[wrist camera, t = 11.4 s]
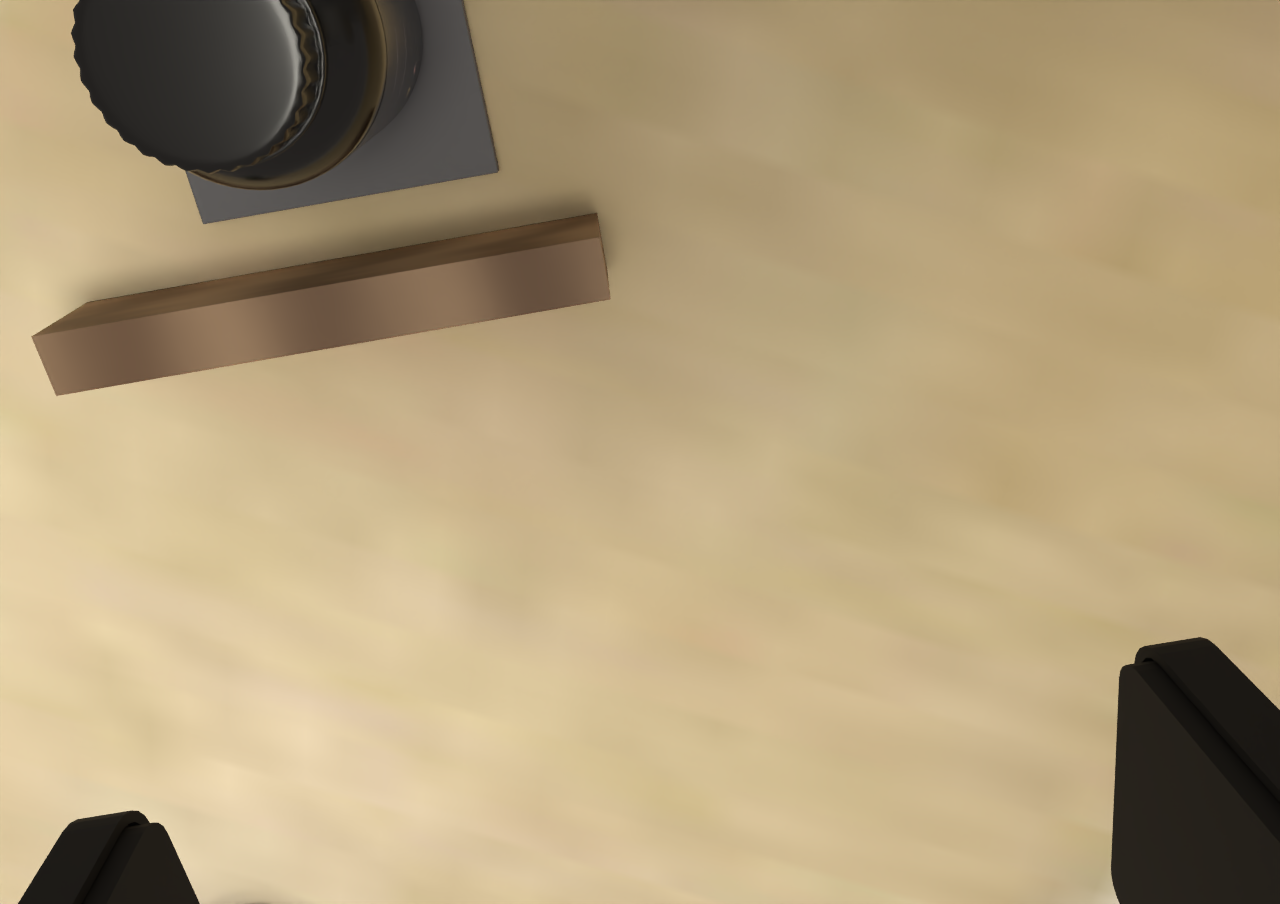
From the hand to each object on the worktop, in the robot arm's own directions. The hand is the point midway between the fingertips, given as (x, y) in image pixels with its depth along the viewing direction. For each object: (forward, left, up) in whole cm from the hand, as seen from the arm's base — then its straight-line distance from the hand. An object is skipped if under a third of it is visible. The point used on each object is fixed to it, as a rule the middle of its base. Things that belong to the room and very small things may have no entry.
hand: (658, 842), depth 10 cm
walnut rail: (+9, 0, -28) cm, 30 cm away
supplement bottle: (+8, -8, -28) cm, 30 cm away
